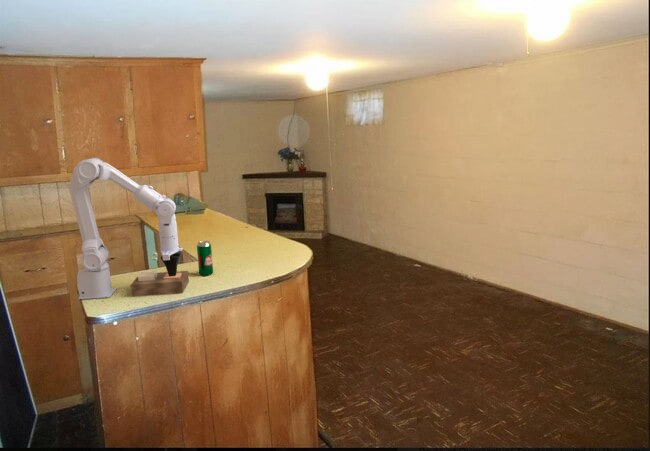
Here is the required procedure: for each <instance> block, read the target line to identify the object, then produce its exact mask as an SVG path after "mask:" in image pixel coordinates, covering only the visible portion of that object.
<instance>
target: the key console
mask: <svg viewBox="0 0 650 451" xmlns="http://www.w3.org/2000/svg"><path fill="white" fill-rule="evenodd" d="M177 273H182V276H181V277H180V279H166V280H163V278H164V277H165V275H166V274H168V272H167V271H164V272H163V271H162V272H160V271H159V272H157V278H156V279H155V280H150V281H138V276H139V275H140V273H139V275H138V276H137V277H135V279H134V280H133V281H132V282H131V283H130V290H131V297H145V296H160V295H161V296H162V295H175V294H176V295H178V294H183V293H184V292H185V291H186V289H187V287H188V284H189V281H190V280H189V278H190V277H189V271H188V270H180V271H179V270H178V271H177Z"/></svg>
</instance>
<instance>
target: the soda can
mask: <svg viewBox="0 0 650 451" xmlns="http://www.w3.org/2000/svg"><path fill="white" fill-rule="evenodd" d="M212 251H213V250H212V244H211V241H209V240H200V241H198V242H197V245H196V252H197V253H196V254H197V264H198V274H199V275H200V276H201V277H202V276H203V277H207V276H212V275H213V274H214V265H213V252H212Z"/></svg>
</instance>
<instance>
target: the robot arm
mask: <svg viewBox="0 0 650 451" xmlns="http://www.w3.org/2000/svg"><path fill="white" fill-rule="evenodd" d="M96 180H99V181H111V182H113V183H115V184H116V185H118V186H120V187H122V188H123V189H125V190H127V191H128V192H130V193H131V194H133V196H134V199H135V201H137V202H138V203H140V204H142V205H143V206H145V207H146V208H148V209H150V210H151V211H155V214H156V216H157V220H158V234H159V242H160V250H159V251H160V254H161V255H160V260H161V261H162V263H163V264H164V266H165V268H166V272H168V275H169V276H176V273H177V270H178V263H179V259H180V257H181V252H182V251H183V250H184V248H183V247H179V246H180V244H179V243H180V242H179V236H178V234H179V233H178V224H177V223H178V222H177V221H176V220H177V217H176V214H175V212H176V209H177V206H176V203H175V202H174V200H173V199H172V198H170V197H167V195H166V194H163V195H162V194H160V193H159V192H158V191H156V190H154V187H153V186H152V185H148V184H143V185H140V184H139V183H137V182H135V181H134V180H133V179H131V178H130V177H129V176H127V175H125V174H124V173H123V172H121V171H120V170H118V169H117V168H116V167H114V166H113V165H111V164H110V163H108V162H106V161H103V160H102V159H100V158H98V157H90V158H89V159H87V158H86V159H83V160H81V161H80V162H78V164H76V166H75V167H74V168H73V173H72V175H71V178H70V180H69V184H68V191H69V194H70V198H71V203H72V206H73V210H74V213H75V217H76V221H77V225H78V228H79V232H80V236H81V240H82V244H81V252H82V256H81V265H82V266H83V269H79V270H78V272H77V275H76V282H77V289H78V290H77V291H78V300H88V299H89V300H90V299H103V298H105V299H106V298H110V297H111V296H112V295H113V294H114V293H115V292H116V290H117V288H112V279H111V272H110V264H109V263H108V260H109V259H110V258H109V257H110V251H109V250H108V248H107V247H106V246H105V244H104V241H103V239H102V238H101V236H100V233H99V229H98V225H97V220H96V217H95V213H94V209H93V205H92V201H91V197H90V193H89V189H90V187H91V186H92V185H93V183H94V182H95V181H96Z"/></svg>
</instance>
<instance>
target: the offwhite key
mask: <svg viewBox="0 0 650 451" xmlns="http://www.w3.org/2000/svg"><path fill="white" fill-rule="evenodd" d="M157 273H158V271H157V270H156V271H155V270H154V271H141V272H140V273H139V274H140V275H137V277H138V281H150V280H155V279H156V278H157Z"/></svg>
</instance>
